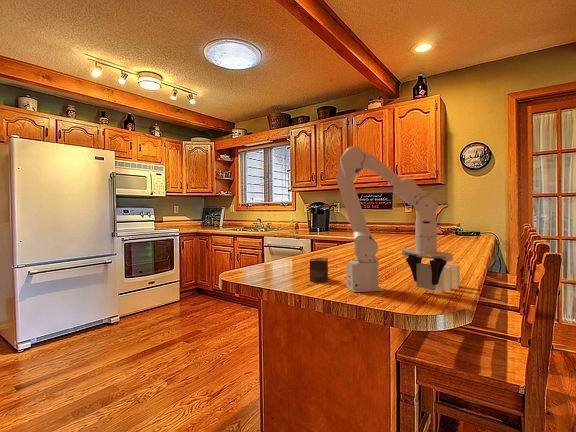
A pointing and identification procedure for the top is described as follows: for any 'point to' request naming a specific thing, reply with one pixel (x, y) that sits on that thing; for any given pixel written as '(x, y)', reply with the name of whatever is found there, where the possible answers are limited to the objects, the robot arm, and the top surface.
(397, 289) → the top surface
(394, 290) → the top surface
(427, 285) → the domino
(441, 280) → the domino
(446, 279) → the domino
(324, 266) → the box
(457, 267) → the domino
